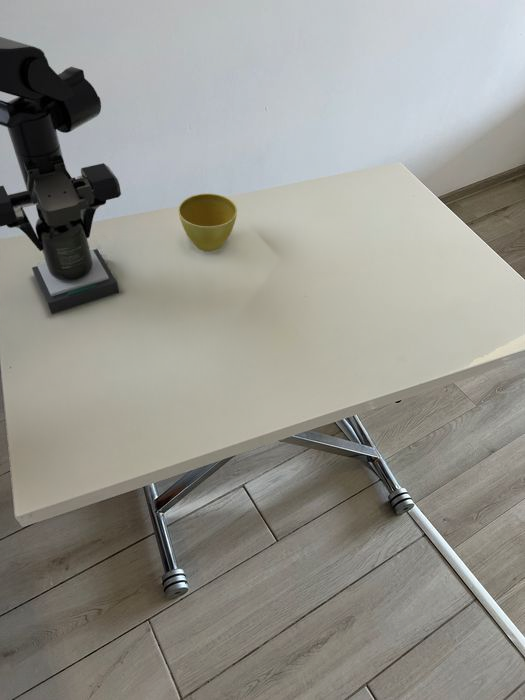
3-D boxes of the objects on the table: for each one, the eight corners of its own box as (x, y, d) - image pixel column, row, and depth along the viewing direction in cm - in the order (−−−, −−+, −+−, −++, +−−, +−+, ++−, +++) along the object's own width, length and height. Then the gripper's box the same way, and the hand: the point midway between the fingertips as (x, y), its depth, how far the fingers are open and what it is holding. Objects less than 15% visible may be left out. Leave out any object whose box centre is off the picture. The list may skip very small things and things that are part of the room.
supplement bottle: (47, 259, 86) (26, 194, 77) (90, 252, 88) (74, 187, 79) (51, 286, 82) (30, 220, 73) (96, 277, 84) (80, 212, 75)
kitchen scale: (51, 314, 83) (46, 300, 81) (35, 278, 88) (30, 264, 86) (119, 292, 87) (116, 278, 85) (99, 259, 92) (96, 245, 90)
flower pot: (246, 251, 96) (247, 217, 90) (194, 266, 92) (192, 232, 87) (222, 221, 101) (221, 188, 96) (172, 235, 98) (169, 201, 93)
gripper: (-27, 193, 62) (13, 293, 74) (126, 159, 69) (141, 255, 80) (-44, 150, 68) (-4, 248, 80) (98, 123, 75) (115, 217, 87)
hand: (64, 242), depth 81 cm, fingers closed on supplement bottle, 7 cm apart
